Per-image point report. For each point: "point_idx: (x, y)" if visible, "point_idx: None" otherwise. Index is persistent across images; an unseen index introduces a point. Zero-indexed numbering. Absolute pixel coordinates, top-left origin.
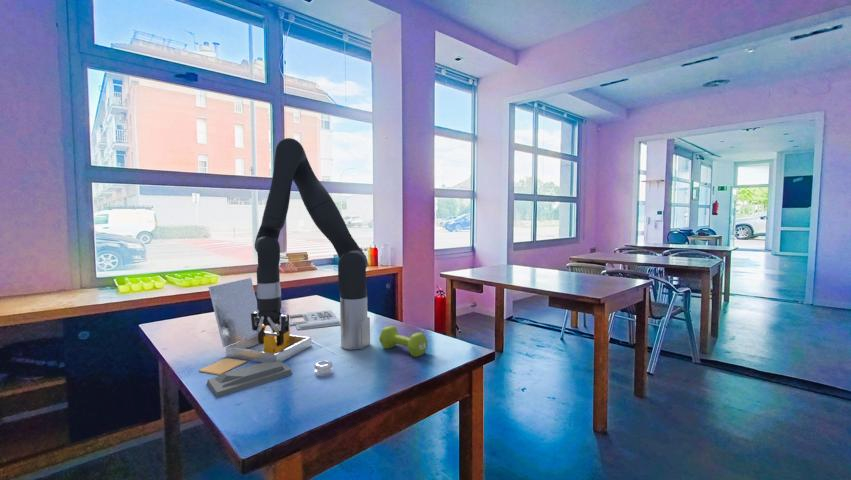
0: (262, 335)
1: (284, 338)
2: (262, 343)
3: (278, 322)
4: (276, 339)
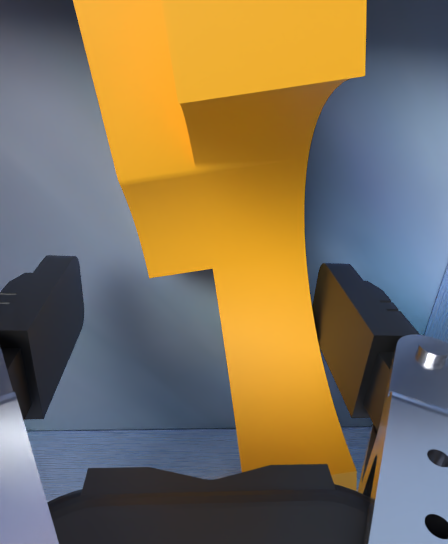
0: (52, 353)
1: (306, 151)
2: (82, 296)
3: (424, 512)
4: (189, 184)
